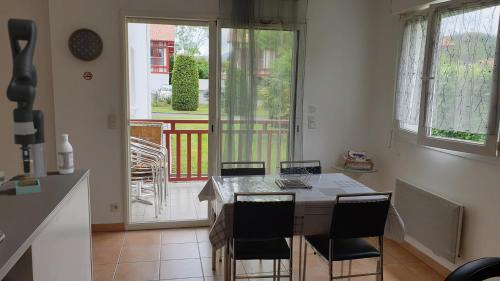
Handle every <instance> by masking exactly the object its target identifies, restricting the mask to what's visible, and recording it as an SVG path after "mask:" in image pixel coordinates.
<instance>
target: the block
mask: <svg viewBox="0 0 500 281" xmlns="http://www.w3.org/2000/svg"><path fill="white" fill-rule="evenodd" d="M18 180H19V182H20V187H26V186H36V180H37V178H35V176H34V177H19V179H18Z"/></svg>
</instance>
